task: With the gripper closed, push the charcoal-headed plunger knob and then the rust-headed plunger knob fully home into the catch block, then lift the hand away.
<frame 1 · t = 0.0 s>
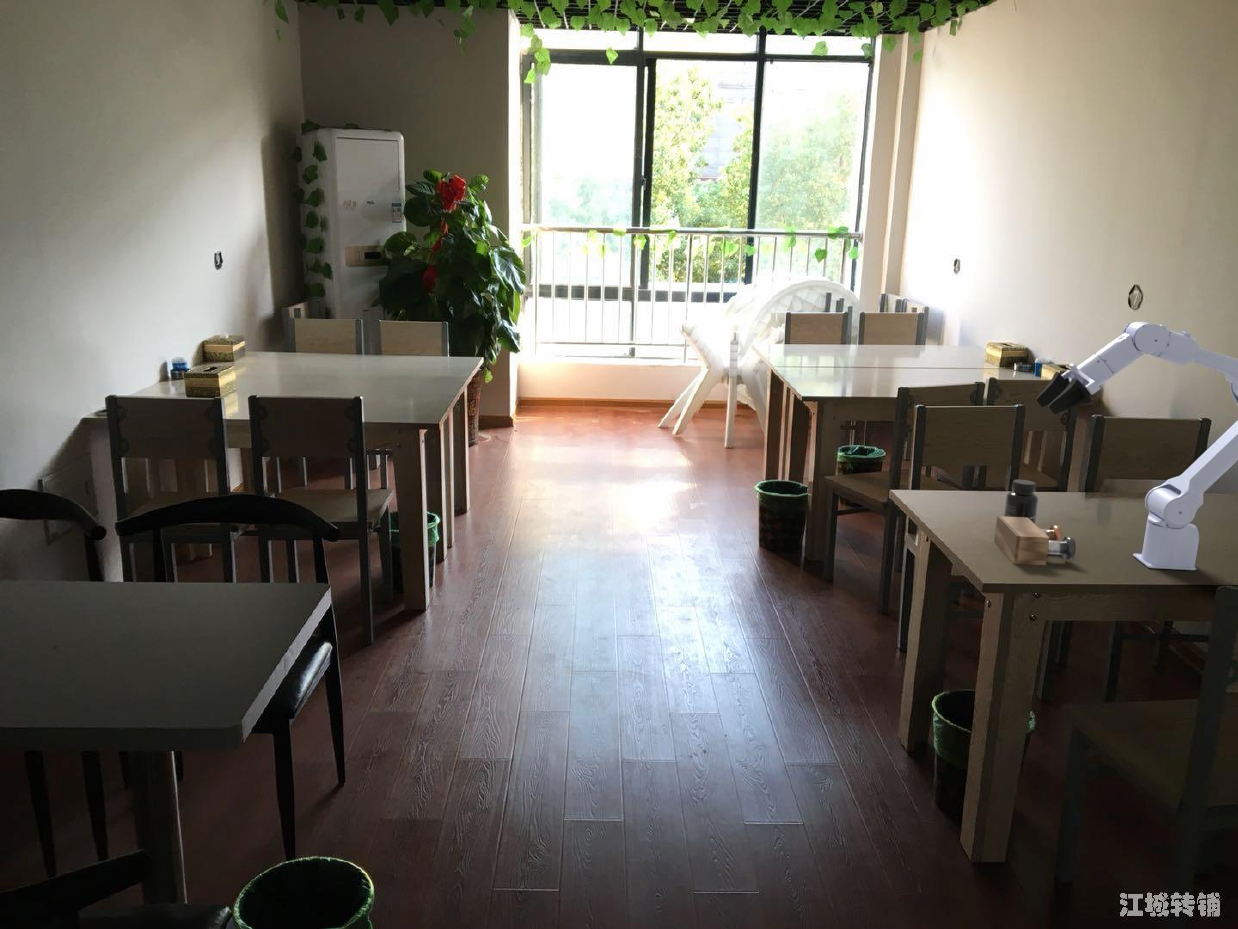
hand: (1044, 406, 201), 32 cm above the table, tool tilted 50°, fingers open, 7 cm apart
catch block: (1034, 554, 211), on the table
supplement bottle: (1017, 533, 225), on the table
knob near: (1054, 547, 206), point 3 cm above the table, slide at 0.0 cm
knob far: (1041, 535, 214), point 3 cm above the table, slide at 0.0 cm
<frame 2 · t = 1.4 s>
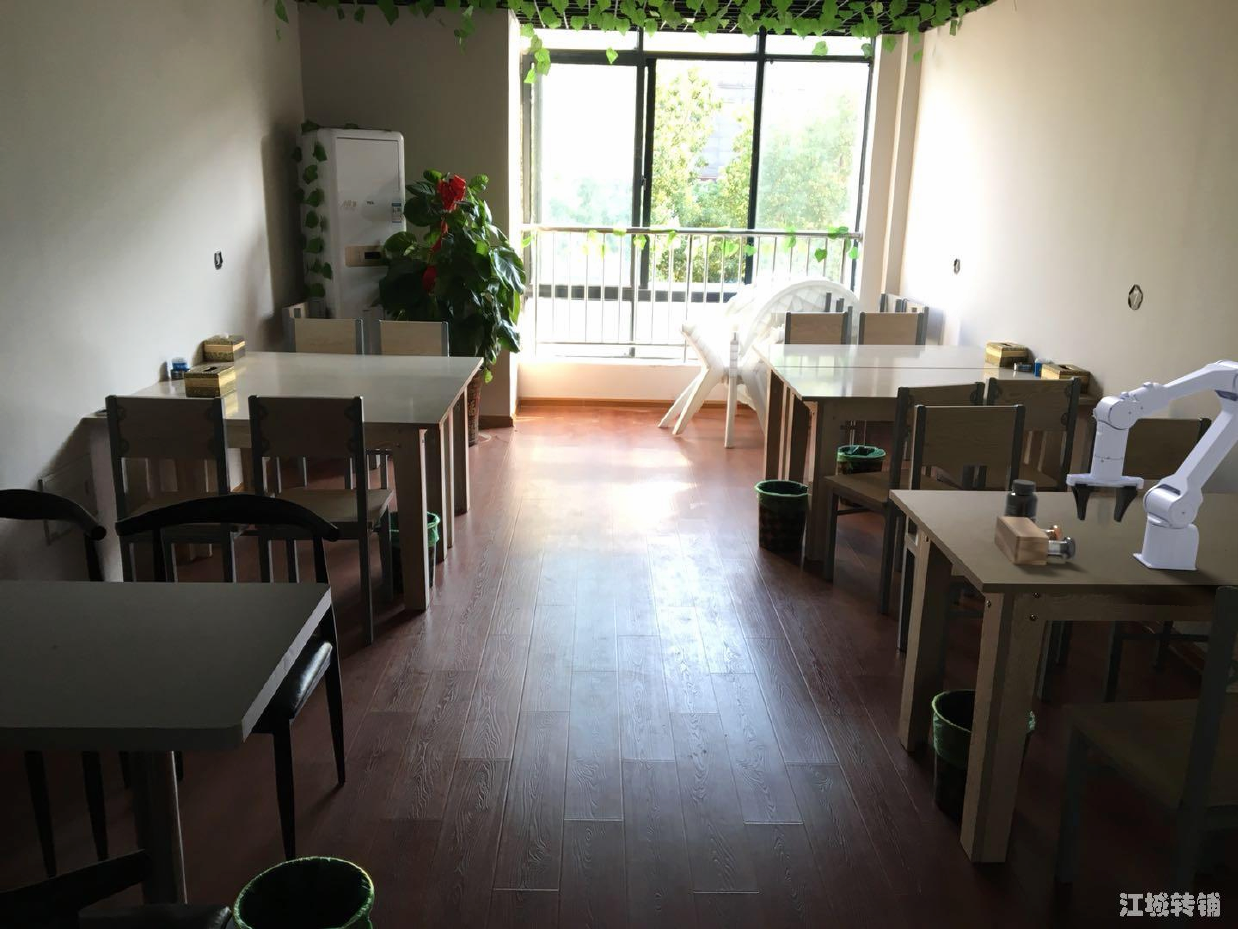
hand: (1099, 520, 204), 9 cm above the table, tool pointing down, fingers open, 7 cm apart
nothing on the table moved.
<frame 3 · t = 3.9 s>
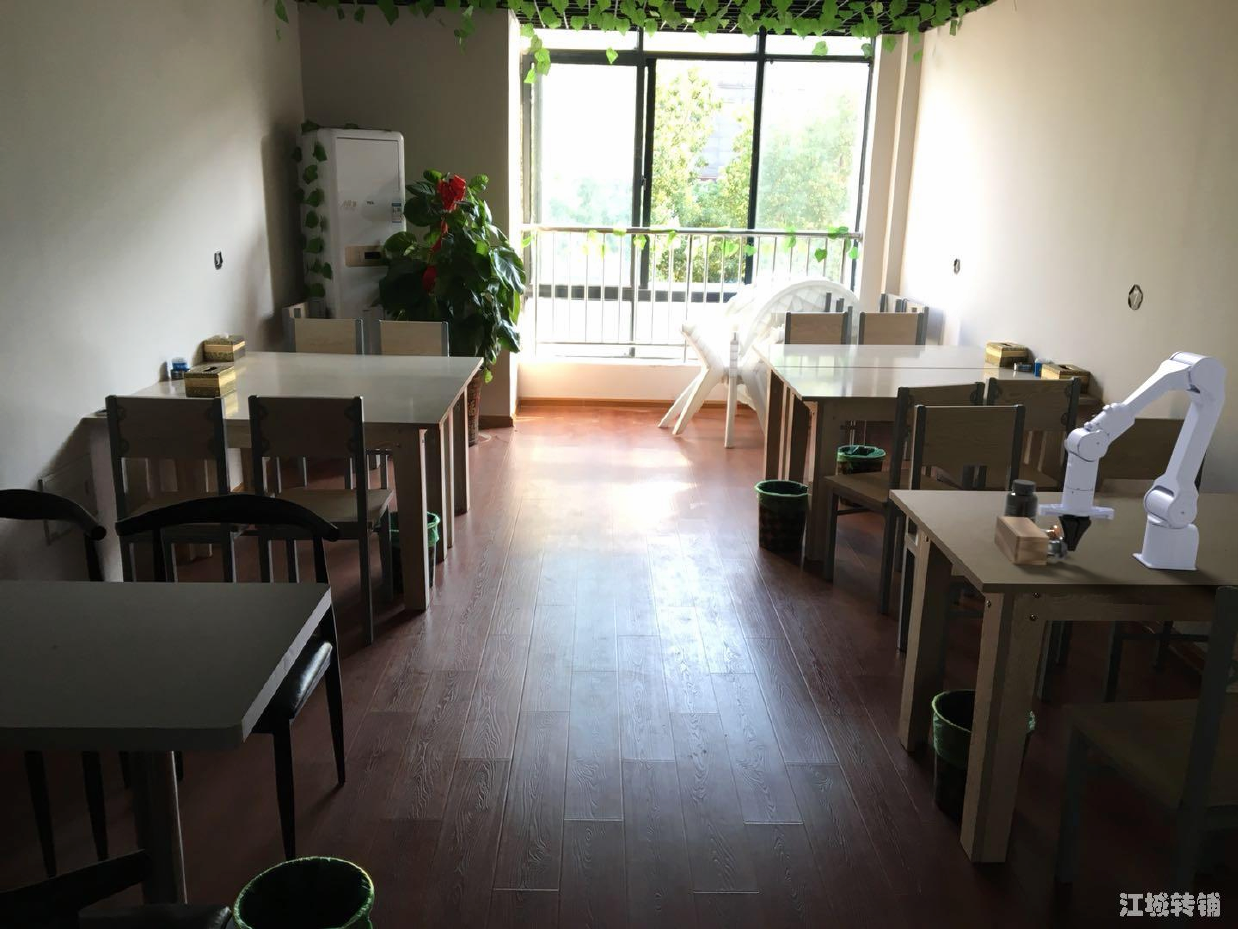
hand: (1070, 549, 206), 3 cm above the table, tool pointing down, fingers closed
knob near: (1046, 547, 206), point 3 cm above the table, slide at 1.6 cm, touching gripper
everything else where it was.
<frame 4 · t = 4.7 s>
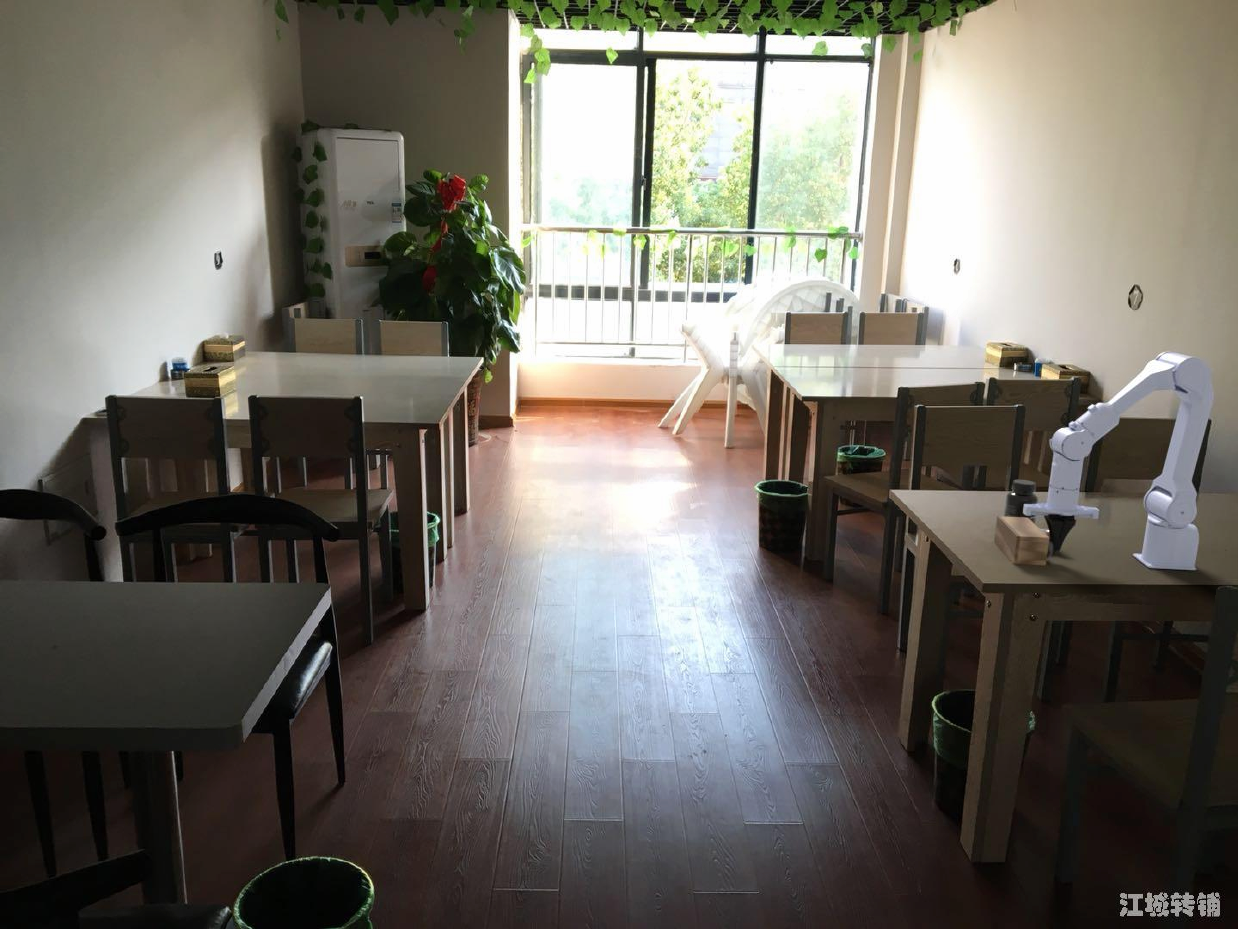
hand: (1055, 549, 206), 3 cm above the table, tool pointing down, fingers closed
knob near: (1032, 546, 206), point 3 cm above the table, slide at 4.5 cm, touching gripper
everything else where it was.
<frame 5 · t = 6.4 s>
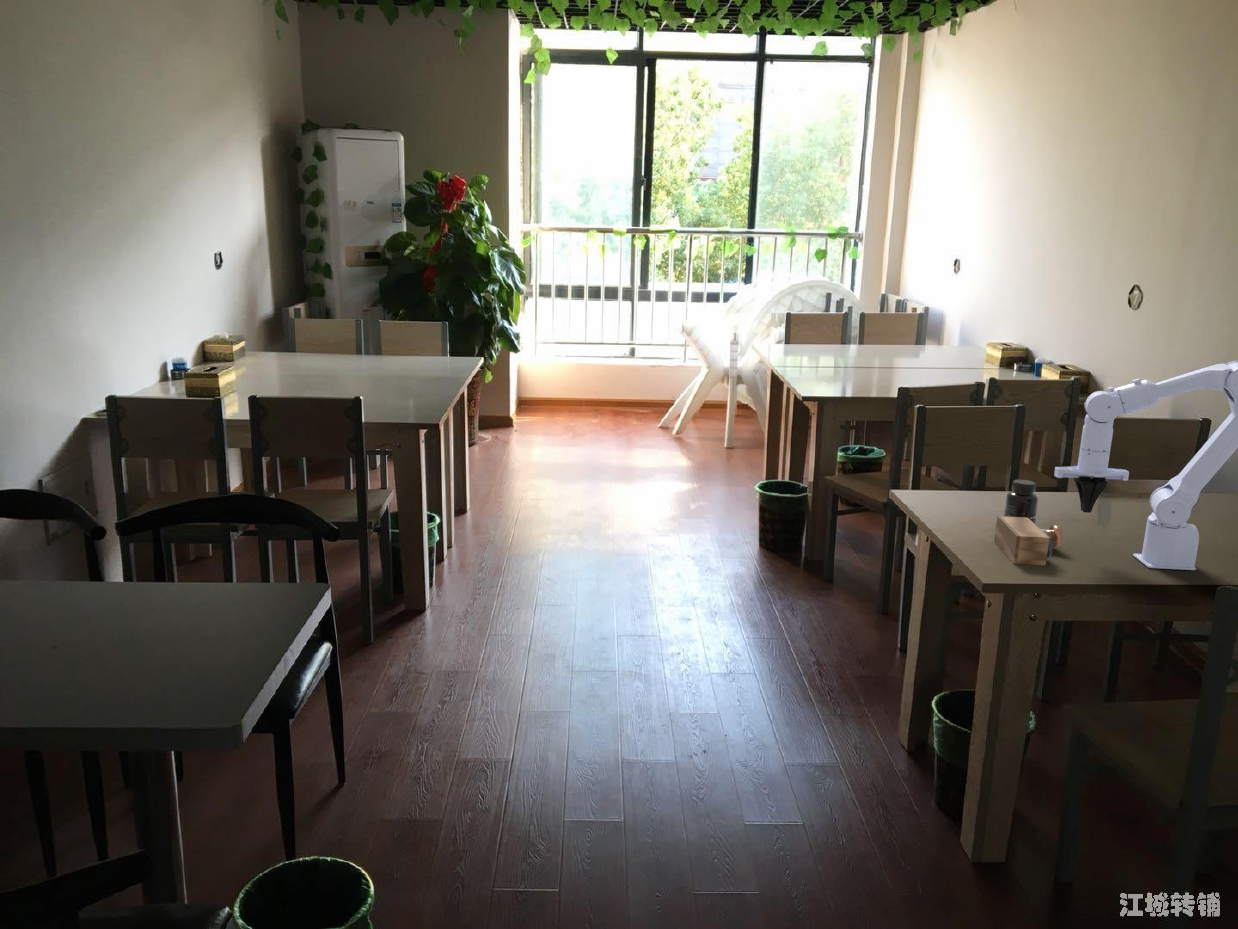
hand: (1085, 511, 210), 9 cm above the table, tool pointing down, fingers closed
knob near: (1032, 546, 206), point 3 cm above the table, slide at 4.4 cm
everything else where it was.
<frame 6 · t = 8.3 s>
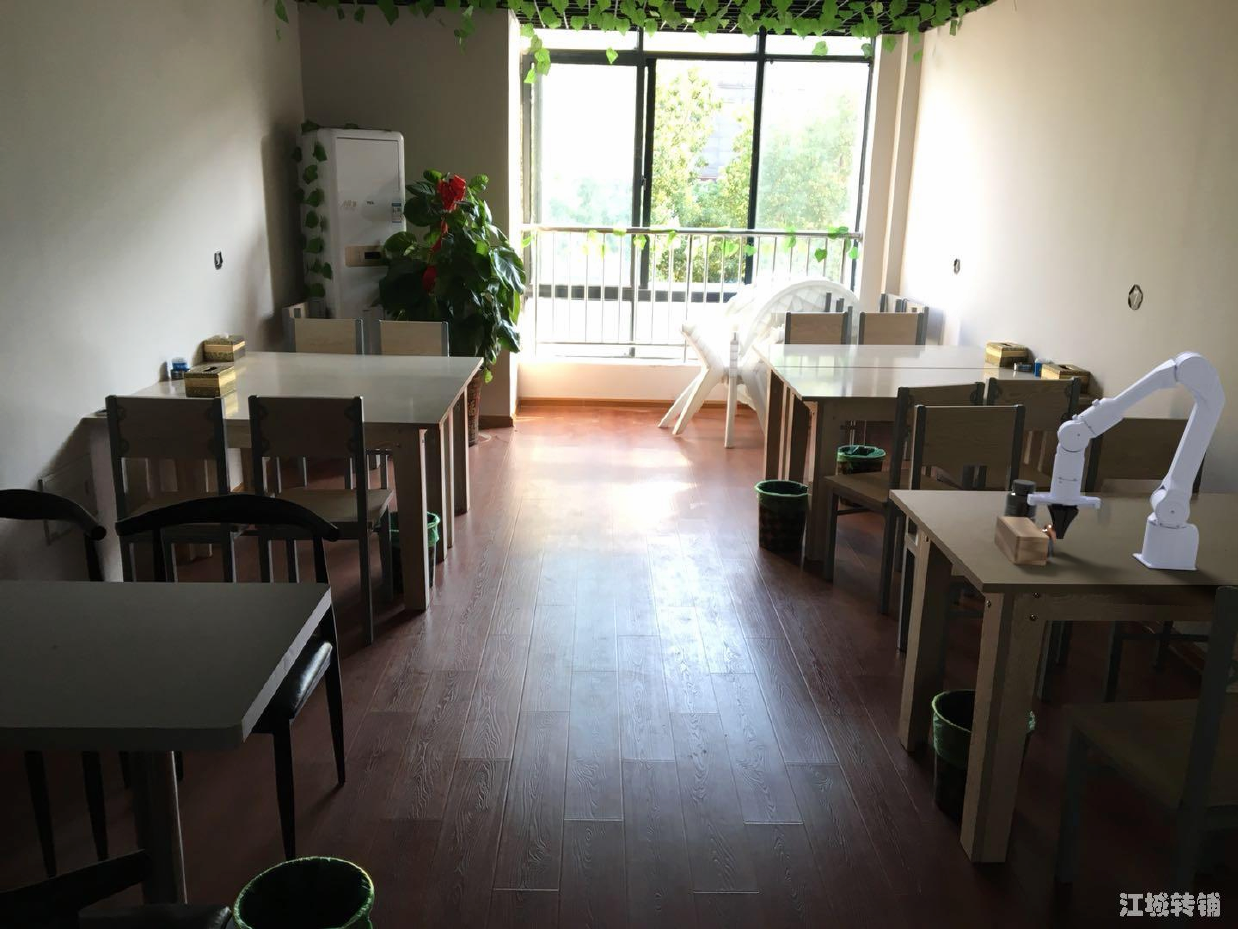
hand: (1058, 537, 213), 3 cm above the table, tool pointing down, fingers closed
knob far: (1035, 535, 214), point 3 cm above the table, slide at 1.2 cm, touching gripper
everything else where it was.
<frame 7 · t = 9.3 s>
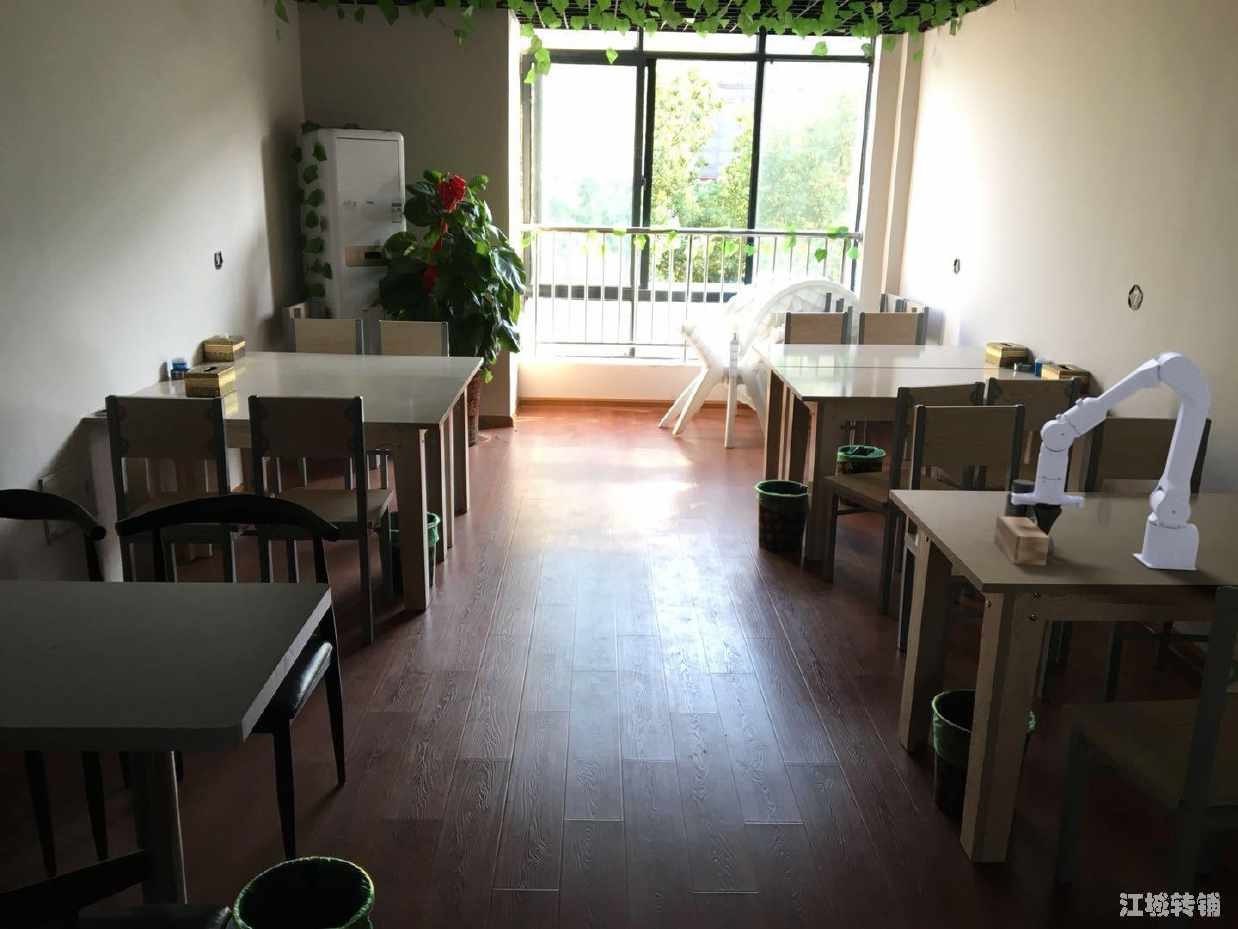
hand: (1042, 537, 214), 3 cm above the table, tool pointing down, fingers closed
knob far: (1020, 534, 214), point 3 cm above the table, slide at 4.5 cm, touching gripper
everything else where it was.
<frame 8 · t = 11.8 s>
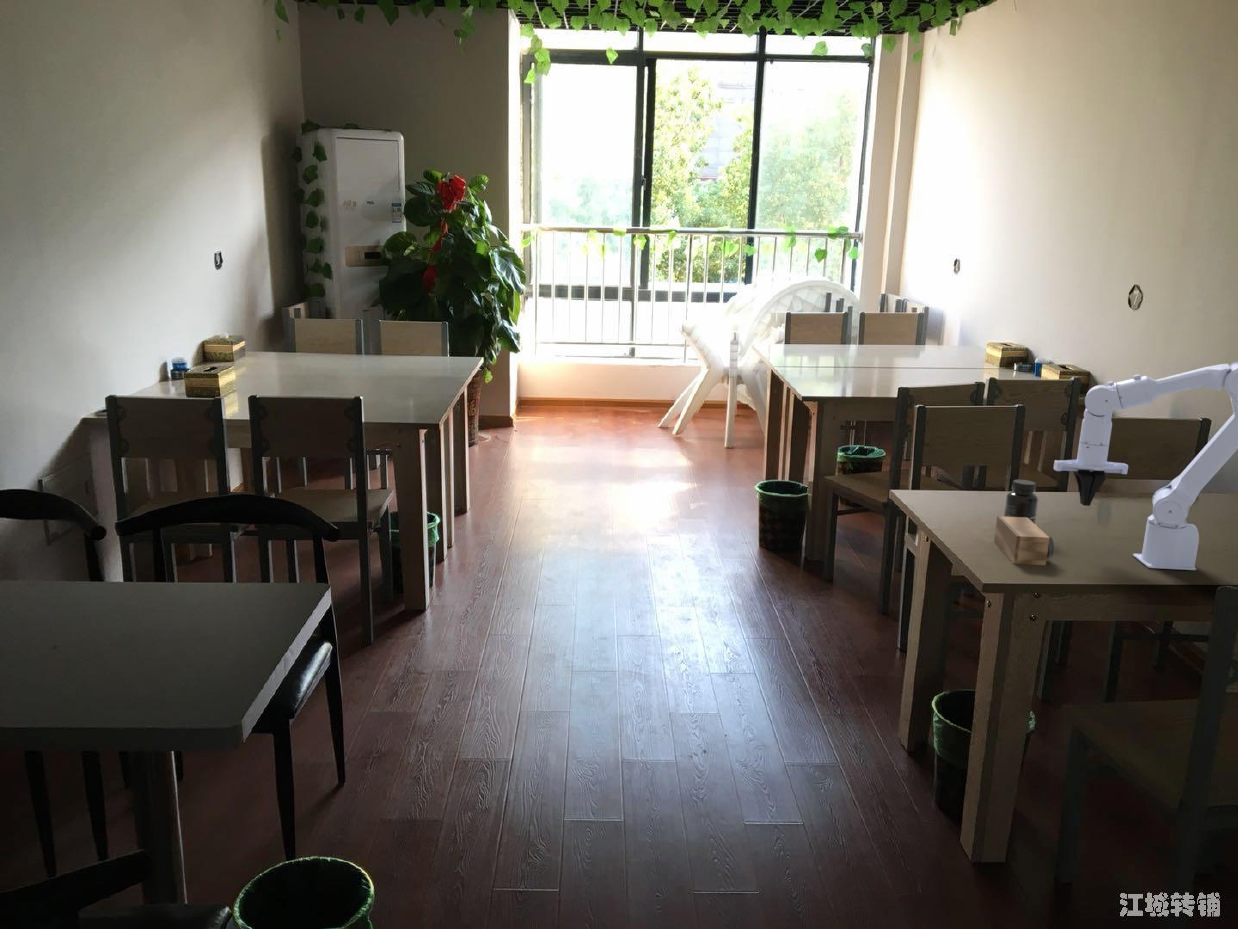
hand: (1085, 504, 211), 10 cm above the table, tool pointing down, fingers closed
knob far: (1020, 534, 214), point 3 cm above the table, slide at 4.4 cm
everything else where it was.
at the end: knob near slide at 4.4 cm; knob far slide at 4.4 cm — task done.
